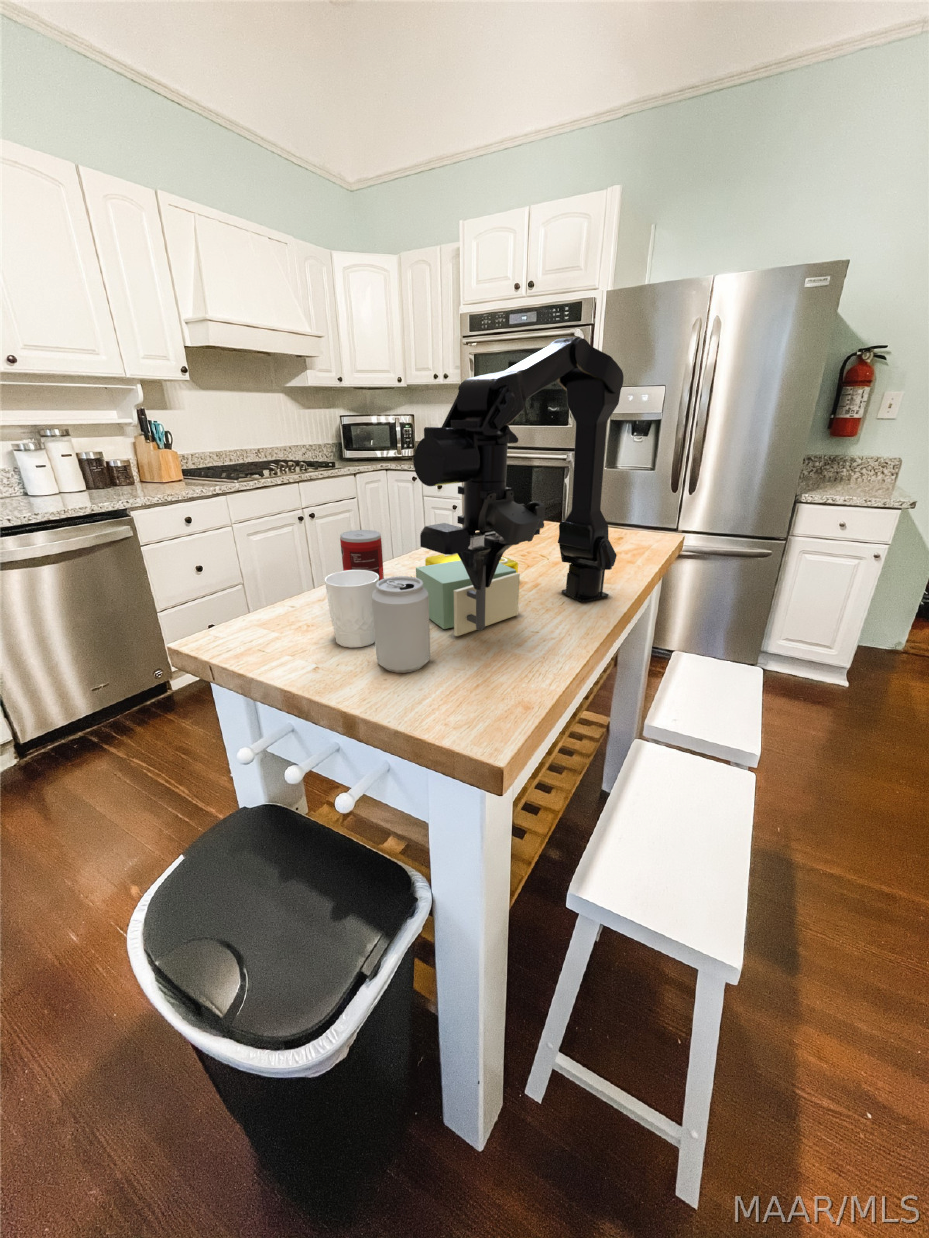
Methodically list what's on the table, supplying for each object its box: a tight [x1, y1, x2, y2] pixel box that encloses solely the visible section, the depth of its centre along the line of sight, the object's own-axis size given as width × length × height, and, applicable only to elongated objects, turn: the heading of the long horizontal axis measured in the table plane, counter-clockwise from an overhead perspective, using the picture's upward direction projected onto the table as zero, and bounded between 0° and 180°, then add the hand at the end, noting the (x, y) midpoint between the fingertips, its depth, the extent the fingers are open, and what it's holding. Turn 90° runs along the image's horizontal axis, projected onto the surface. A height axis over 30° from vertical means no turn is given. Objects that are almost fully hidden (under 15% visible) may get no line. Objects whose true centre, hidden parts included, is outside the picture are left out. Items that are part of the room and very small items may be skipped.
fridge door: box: [453, 564, 521, 637], centre depth 79 cm, size 14×4×12 cm, turn 131°
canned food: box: [339, 529, 385, 581], centre depth 97 cm, size 8×8×11 cm
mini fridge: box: [415, 560, 516, 630], centre depth 86 cm, size 14×10×8 cm
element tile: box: [424, 553, 519, 573], centre depth 103 cm, size 15×15×5 cm
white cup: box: [324, 570, 379, 649], centre depth 76 cm, size 8×8×10 cm
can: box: [372, 575, 431, 674], centre depth 68 cm, size 8×8×12 cm
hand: (481, 588), depth 74 cm, fingers closed on fridge door
